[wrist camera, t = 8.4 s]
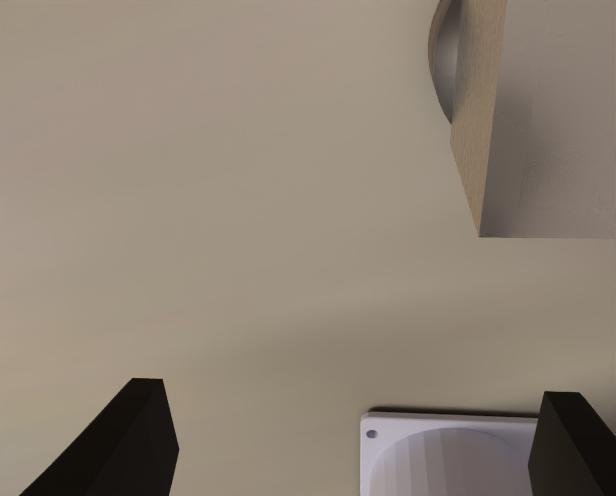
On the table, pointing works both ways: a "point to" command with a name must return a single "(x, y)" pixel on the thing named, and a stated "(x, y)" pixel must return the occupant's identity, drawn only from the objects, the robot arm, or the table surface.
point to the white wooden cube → (537, 117)
